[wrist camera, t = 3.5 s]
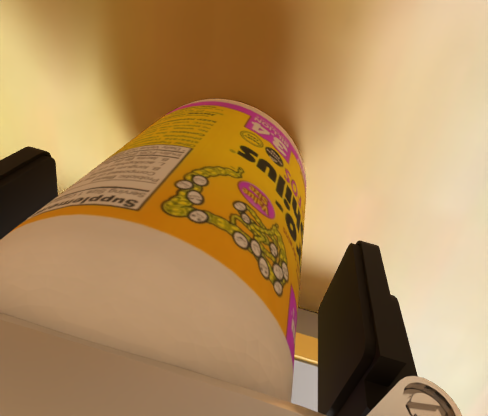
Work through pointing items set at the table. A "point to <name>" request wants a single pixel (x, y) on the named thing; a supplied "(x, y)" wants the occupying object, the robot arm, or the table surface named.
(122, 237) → the supplement bottle
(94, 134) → the table surface
